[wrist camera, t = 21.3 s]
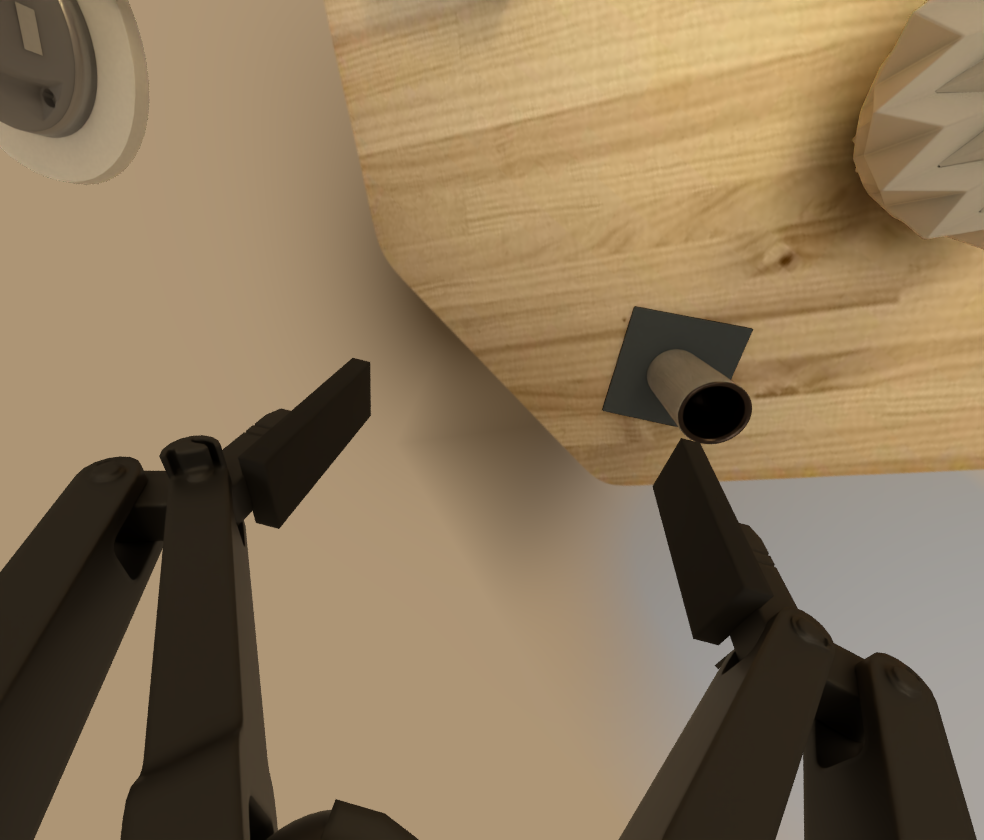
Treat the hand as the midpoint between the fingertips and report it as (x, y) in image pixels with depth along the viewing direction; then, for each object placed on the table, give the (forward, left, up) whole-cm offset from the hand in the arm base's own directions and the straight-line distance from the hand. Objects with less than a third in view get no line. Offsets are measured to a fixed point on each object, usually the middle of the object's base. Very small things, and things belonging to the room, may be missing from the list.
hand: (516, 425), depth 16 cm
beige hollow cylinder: (+12, -1, -21) cm, 25 cm away
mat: (+12, -1, -21) cm, 25 cm away
